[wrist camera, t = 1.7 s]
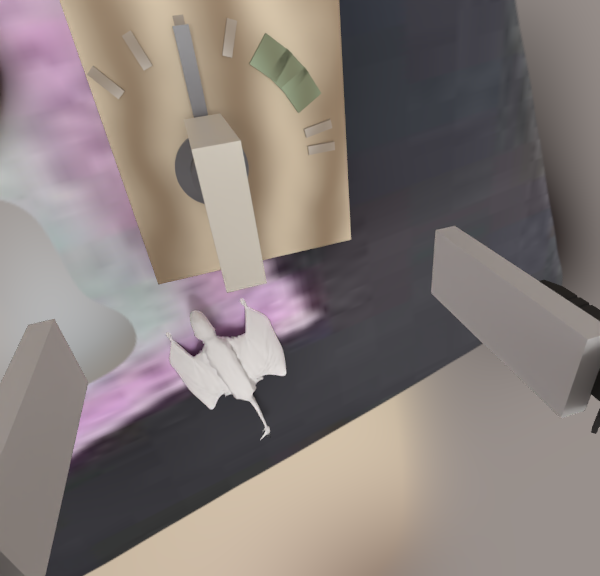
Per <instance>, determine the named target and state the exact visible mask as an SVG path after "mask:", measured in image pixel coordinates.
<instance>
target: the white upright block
mask: <svg viewBox="0 0 600 576" xmlns="http://www.w3.org/2000/svg"><path fill="white" fill-rule="evenodd" d="M172 27H173V31H174V35H175V40H176V44H177V48H178V52H179V57H180V61H181V65H182V69H183V74H184V78H185V82H186V87H187V91H188V95H189V99H190V104H191V108H192V112H193V116H194V118H189V119H184V123H185V127H186V131H187V135H188V138H187V139H186V140H185V141H184V142H183V143H182V145H181V146H180V148H179V150H178V152H177V155H176V159H175V173H176V177H177V180H178V183H179V185H180V186H181V188H182V189H183V191H184V192H185V193H186V194H187V195H188V196H189V197H191V198H192V199H194V200H196V201H198V202H200V203H203V204H205V208H206V212H207V216H208V220H209V224H210V228H211V232H212V236H213V240H214V244H215V248H216V252H217V256H218V259H219V263H220V267H221V271H222V275H223V279H224V283H225V287H226V291H227V293H229V292H233V291H237V290H241V289H245V288H249V287H253V286H257V285H261V284H266V283H267V282H266V277H265V271H264V266H263V260H262V255H261V249H260V244H259V238H258V233H257V227H256V222H255V216H254V211H253V205H252V200H251V194H250V189H249V183H248V174H249V165H248V160H247V157H246V154H245V152H244V151H243V149H242V145H241V140H240V139H239V138H238V136H237V135H236V134H235V132H234V131H233V130H232V128H231V127H230V126H229V124H228V123H227V122H226V120H225V119H224V118H223V116H222V115H221V114H220V113H219V114H213V115H208V112H207V108H206V103H205V98H204V94H203V89H202V85H201V80H200V75H199V71H198V66H197V61H196V57H195V52H194V48H193V43H192V38H191V34H190V29H189V24H185V25H177V26H172Z"/></svg>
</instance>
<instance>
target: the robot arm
mask: <svg viewBox="0 0 600 576" xmlns="http://www.w3.org/2000/svg"><path fill="white" fill-rule="evenodd" d="M431 293H432V294H433V295H434V296H435V297H436V298H437V299H438V300H439V301H440V302H441V303H442V304H443V305H444V306H445V307H446V308H447V309H448V310H449V311H450V312H451V313H452V314H453V315H454V316H455V317H456V318H457V319H458V320H459V321H461V322H462V323H463V324H464V325H465V326H466V327H467V328H468V329H469V330H470V331H471V332H472V333H473V334H474V335H475V336H476V337H477V338H478V339H479V340H480V341H481V342H482V343H483V344H484V345H485V346H486V347H487V348H488V349H489V350H491V351H492V352H493V353H494V354H495V355H496V356H497V357H498V358H499V359H500V360H501V361H502V362H503V363H504V364H505V365H506V366H507V367H508V368H509V369H510V370H511V371H512V372H513V373H514V374H515V375H516V376H517V377H518V378H519V379H520V380H522V381H523V382H524V383H525V384H526V385H527V386H528V387H529V388H530V389H531V390H532V391H533V392H534V393H535V394H536V395H537V396H538V397H539V398H540V399H541V400H542V401H543V402H544V403H545V404H546V405H547V406H548V407H549V408H550V409H551V410H553V411H554V412H555V413H556V414H557V415H558V416H559V417H560V418H564V417H567V416H570V415H573V414H576V413H579V412H582V411H585V409H586V407H587V404H588V401H589V399H590V396H591V394H592V395H593V396H594V397H595V398H597V399H598V400H599V401H600V310H599V309H598V308H596V307H594V306H593V305H589V303H588V302H586V301H585V300H583V299H582V298H578V297H577V295H575V294H574V293H572V292H571V291H569V290H568V289H566V288H564V287H563V286H560V285H557V284H555V283H552V282H549V281H546V280H541V281H538V280H536V279H535V278H533V277H532V276H530V275H529V274H527V273H526V272H524V271H523V270H521V269H519V268H518V267H516V266H515V265H513V264H512V263H510V262H509V261H507V260H506V259H504V258H503V257H501V256H500V255H498V254H497V253H495V252H494V251H492V250H491V249H489V248H488V247H486V246H484V245H483V244H481V243H480V242H478V241H477V240H475V239H474V238H472V237H471V236H469V235H468V234H466V233H465V232H463V231H462V230H460V229H459V228H457V227H456V226H452V227H447V228H443V229H439V230H436V233H435V247H434V261H433V275H432V289H431ZM87 385H88V381H87V379H86V377H85V375H84V373H83V372H82V370H81V368H80V366H79V364H78V362H77V361H76V359H75V357H74V355H73V353H72V351H71V349H70V347H69V345H68V343H67V342H66V340H65V338H64V336H63V334H62V332H61V331H60V329H59V327H58V325H57V323H56V321H55V319H52V320H48V321H43V322H39V323H35V324H30V325H28V326H27V328H26V331H25V333H24V335H23V337H22V339H21V341H20V343H19V345H18V347H17V350H16V352H15V354H14V356H13V358H12V360H11V362H10V364H9V366H8V369H7V371H6V373H5V375H4V377H3V379H2V381H1V383H0V576H45V574H46V569H47V565H48V560H49V556H50V552H51V547H52V543H53V538H54V534H55V529H56V525H57V520H58V516H59V511H60V507H61V502H62V498H63V493H64V489H65V484H66V480H67V475H68V471H69V466H70V462H71V457H72V453H73V448H74V444H75V439H76V435H77V430H78V426H79V421H80V417H81V412H82V408H83V403H84V399H85V394H86V390H87ZM599 427H600V409H599V411H598V414H597V416H596V419H595V421H594V424H593V426H592V431H591V432H592V433H595V434H596V433H597V431H598V428H599Z"/></svg>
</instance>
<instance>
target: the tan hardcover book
mask: <svg viewBox="0 0 600 576" xmlns="http://www.w3.org/2000/svg"><path fill="white" fill-rule="evenodd" d="M60 3H61V6H62V9H63V12H64V14H65V17H66V20H67V23H68V26H69V29H70V32H71V35H72V37H73V40H74V43H75V46H76V49H77V52H78V55H79V58H80V60H81V63H82V66H83V69H84V72H85V75H86V78H87V81H88V83H89V86H90V89H91V92H92V95H93V98H94V101H95V103H96V106H97V109H98V112H99V115H100V118H101V121H102V124H103V126H104V129H105V132H106V135H107V138H108V141H109V144H110V147H111V149H112V152H113V155H114V158H115V161H116V164H117V167H118V170H119V172H120V175H121V178H122V181H123V184H124V187H125V190H126V192H127V195H128V198H129V201H130V204H131V207H132V210H133V213H134V215H135V218H136V221H137V224H138V227H139V230H140V233H141V236H142V238H143V241H144V244H145V247H146V250H147V253H148V256H149V259H150V261H151V264H152V267H153V270H154V273H155V276H156V279H157V282H158V284H162V283H167V282H171V281H175V280H180V279H184V278H188V277H192V276H197V275H201V274H205V273H210V272H214V271H218V270H221V267H220V263H219V259H218V256H217V252H216V248H215V244H214V240H213V236H212V232H211V228H210V224H209V220H208V216H207V212H206V208H205V204H203V203H200V202H198V201H196V200H194V199H192V198H191V197H189V196H188V195H187V194H186V193H185V192H184V191H183V189H182V188H181V186H180V185H179V183H178V180H177V177H176V173H175V159H176V155H177V152H178V150H179V148H180V146H181V145H182V143H183V142H184V141H185V140H186V139H187V138H188V135H187V131H186V127H185V123H184V119H189V118H194V116H193V112H192V108H191V104H190V99H189V95H188V91H187V87H186V82H185V78H184V74H183V69H182V65H181V61H180V57H179V52H178V48H177V44H176V40H175V35H174V31H173V27H172V26H177V25H185V24H189V29H190V34H191V38H192V43H193V48H194V52H195V57H196V61H197V66H198V71H199V75H200V80H201V85H202V89H203V94H204V98H205V103H206V108H207V112H208V115H213V114H219V113H220V114H221V115H222V116H223V118H224V119H225V120H226V122H227V123H228V124H229V126H230V127H231V128H232V130H233V131H234V132H235V134H236V135H237V136H238V138H239V139H240V140H241V145H242V149H243V151H244V152H245V154H246V157H247V160H248V165H249V174H248V183H249V189H250V194H251V200H252V205H253V211H254V216H255V222H256V227H257V233H258V238H259V244H260V249H261V255H262V260H265V259H270V258H274V257H278V256H283V255H287V254H291V253H296V252H300V251H304V250H308V249H313V248H317V247H321V246H326V245H330V244H334V243H338V242H343V241H347V240H351V229H350V209H349V189H348V169H347V149H346V129H345V109H344V89H343V69H342V49H341V29H340V9H339V0H60Z"/></svg>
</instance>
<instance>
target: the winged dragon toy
mask: <svg viewBox="0 0 600 576" xmlns="http://www.w3.org/2000/svg"><path fill="white" fill-rule="evenodd" d="M240 302H241V304H243V306H244V307H245V333H244V334H242V335H240V336H239V335H238V337H234V338H233V337H232V336H231V337H232V338H229V337H228V336H227V337H220V336H217V335H216V332H215V328H213V326H212V325H211V323H210V322H209V320H208V319H207V317H206V316H205V315H204V314H203V313H202V312H200V311H197V310H195V311H192V312H191V313H190V323H191V326H192V329H193V331H194V336H196V338H197V339H199V340H202V341H203V342H202V343H204V344H205V345H204V347H203V346H202V347H203V348H202V349H203V350H202V352H201V351H200V350H199V351H200V353H201V354H200V353H199V355H197V354H196V356H194V357H193V356H192V355H191V354H189V353H188V352H187V351H186V350H185V349H184V348H182V347H181V346H180V345H179V344H178V343H177V342H176V341H174V340H172V337H171V335H170V333H169V332H167V333H166V336H167V338H169V340H170V341H171V348H170V356H169V360H170V364H171V365H172V367H173V368H174V369H175V370H176V372H177V373H178V374H179V376H180V377H181V379H182V380H183V382H184V383H185V385H186V386H187V387H188V389H189V390H190V391H191V392H192V393H193V394H194V395H195V396H196V397H197V398H199V399H200V400H201V401H202V402H203V403H204V404H205V405H206V406H207V407H208V408H209V409H214V407H215V405H216V403H217V400H218V398H219V397H220V396H221V395H222V394H223V395H224V394H225V397H226V395H229V394H233V396H234V398H236V399H243V400H245V401H246V400H247V401H250V402H251V404H252V405H253V406H254V408H255V409H256V411H257V412H258V414H259V416H260V418H261V420H262V421H263V423H264V425H265V428H264V430H265V431H266V432H265V433H264V435H263V436H262V438H261V439H263V438H264V437H265V436H266V435H267V433H268V434H269V433H270V429H269V428H270V427H269V426H267V425H266V421H265V419H264V417H263V414H262V412H261V410H260V408H259V405H258V404H257V402H256V401H255V400H256V399H255V398H254V397H253V392H254V391H255V390H256V386H255V385H256V383H257V382H258V381H259V380H262V379H263V377H262V376H263V375H269V374H272V375H279V376H285V375H286V371H285V370H286V364H285V357H284V352H283V349H282V346H281V344H280V342H279V340H278V338H277V336H276V334H275V332H274V330H273V328H272V326H271V323H270V321H269V319H268V318H267V317H266V316H265V315H264V314H262V313H260V312H258V311H256V310H254V309H251V308H249V307H248V306H247V305H246V303H245V300H244V299H243V298H241V299H240ZM284 367H285V368H284ZM264 430H263V432H264ZM263 432H262V433H263ZM270 437H271V436H270Z"/></svg>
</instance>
